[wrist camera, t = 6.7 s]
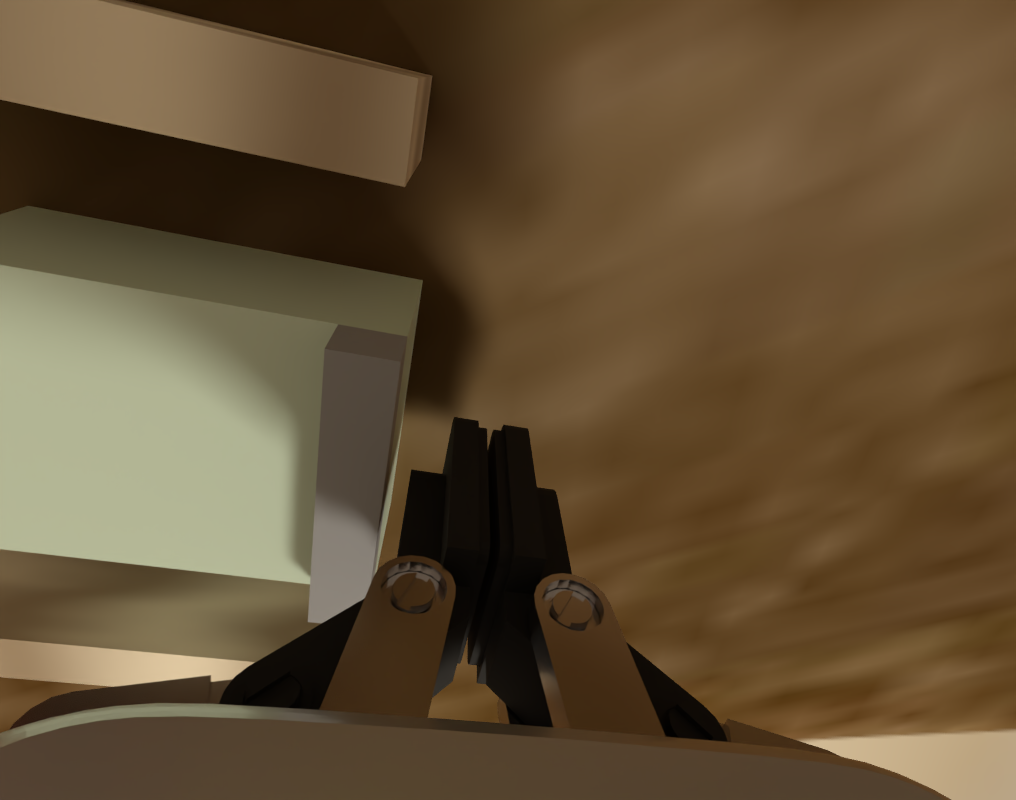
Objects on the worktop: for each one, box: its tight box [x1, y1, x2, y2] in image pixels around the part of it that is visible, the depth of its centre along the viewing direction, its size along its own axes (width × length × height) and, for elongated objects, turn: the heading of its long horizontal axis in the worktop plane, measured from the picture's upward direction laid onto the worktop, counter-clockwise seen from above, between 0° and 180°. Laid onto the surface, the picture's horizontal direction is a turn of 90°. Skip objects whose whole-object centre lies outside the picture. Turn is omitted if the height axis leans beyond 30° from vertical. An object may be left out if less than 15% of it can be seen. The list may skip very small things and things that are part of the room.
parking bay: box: [0, 0, 432, 687], centre depth 12 cm, size 15×15×3 cm
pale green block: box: [0, 206, 423, 623], centre depth 12 cm, size 8×6×4 cm
